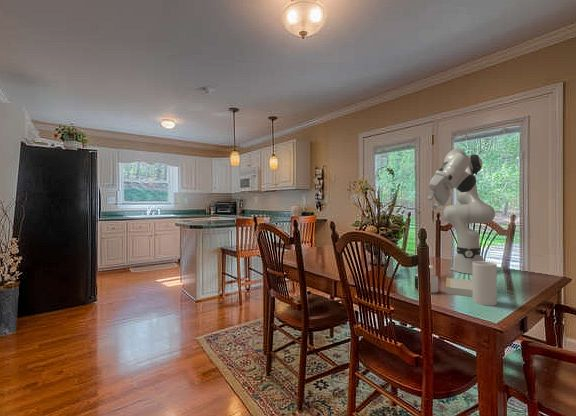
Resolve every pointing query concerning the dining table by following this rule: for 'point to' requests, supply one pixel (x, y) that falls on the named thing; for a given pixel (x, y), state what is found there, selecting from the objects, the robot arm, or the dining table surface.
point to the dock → (459, 287)
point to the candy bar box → (390, 267)
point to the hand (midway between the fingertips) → (431, 204)
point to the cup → (485, 283)
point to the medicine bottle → (432, 280)
